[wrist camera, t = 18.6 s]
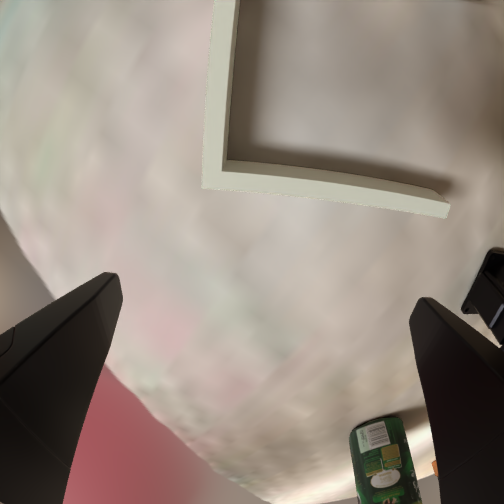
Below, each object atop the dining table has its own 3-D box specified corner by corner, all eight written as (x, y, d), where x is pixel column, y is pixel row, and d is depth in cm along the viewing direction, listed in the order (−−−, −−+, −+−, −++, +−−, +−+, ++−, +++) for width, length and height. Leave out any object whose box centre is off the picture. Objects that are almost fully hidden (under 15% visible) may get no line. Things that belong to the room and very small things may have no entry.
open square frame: (458, -13, 10) (479, -19, 8) (428, 203, 18) (445, 218, 16) (231, -69, 10) (227, -87, 7) (209, 174, 18) (201, 188, 16)
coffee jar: (400, 434, 36) (421, 538, 20) (350, 448, 38) (363, 554, 22) (404, 407, 32) (434, 535, 16) (345, 424, 33) (361, 555, 17)
